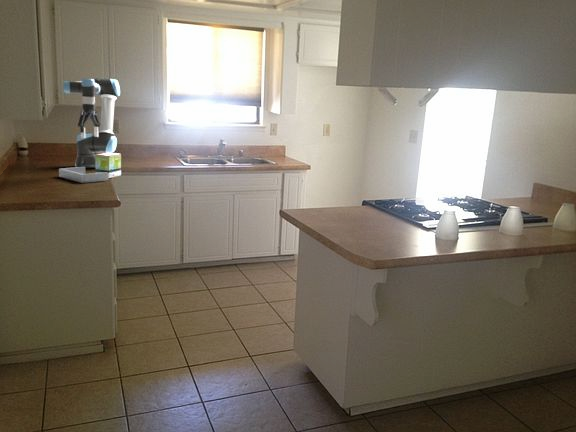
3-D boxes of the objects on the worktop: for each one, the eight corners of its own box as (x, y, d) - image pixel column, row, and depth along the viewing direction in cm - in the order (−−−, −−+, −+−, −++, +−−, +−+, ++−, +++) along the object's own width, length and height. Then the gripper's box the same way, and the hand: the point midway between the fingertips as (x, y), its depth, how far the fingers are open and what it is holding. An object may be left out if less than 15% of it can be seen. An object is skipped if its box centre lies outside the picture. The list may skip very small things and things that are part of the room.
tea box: (109, 178, 332) (109, 155, 329) (95, 177, 334) (94, 154, 331) (121, 175, 346) (121, 153, 343) (107, 174, 348) (107, 152, 345)
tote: (84, 174, 343) (84, 166, 342) (108, 180, 324) (107, 172, 323) (59, 176, 330) (58, 168, 329) (82, 183, 312) (82, 174, 311)
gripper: (95, 103, 347) (96, 135, 352) (70, 103, 324) (72, 137, 328) (105, 104, 345) (106, 136, 350) (81, 103, 322) (82, 138, 326)
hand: (89, 137), depth 339 cm, fingers open, 13 cm apart
